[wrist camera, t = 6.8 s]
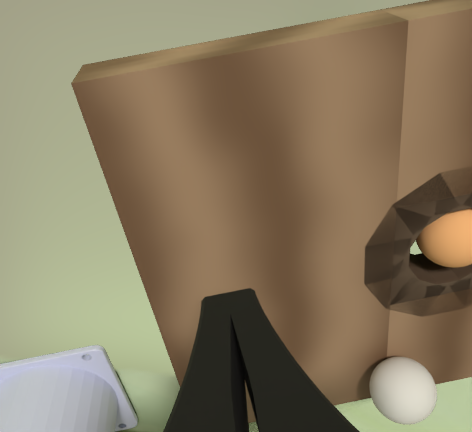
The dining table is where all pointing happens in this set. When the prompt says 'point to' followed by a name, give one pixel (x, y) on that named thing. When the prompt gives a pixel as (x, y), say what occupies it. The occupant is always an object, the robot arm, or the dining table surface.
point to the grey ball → (403, 390)
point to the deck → (300, 184)
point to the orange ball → (448, 239)
